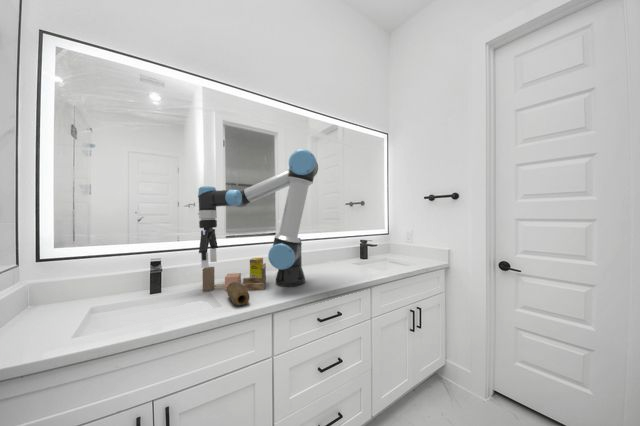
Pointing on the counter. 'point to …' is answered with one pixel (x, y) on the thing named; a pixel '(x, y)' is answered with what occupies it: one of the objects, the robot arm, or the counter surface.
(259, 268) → the supplement box
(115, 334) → the counter surface
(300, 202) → the robot arm
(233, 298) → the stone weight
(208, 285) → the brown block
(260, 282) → the wooden stand
